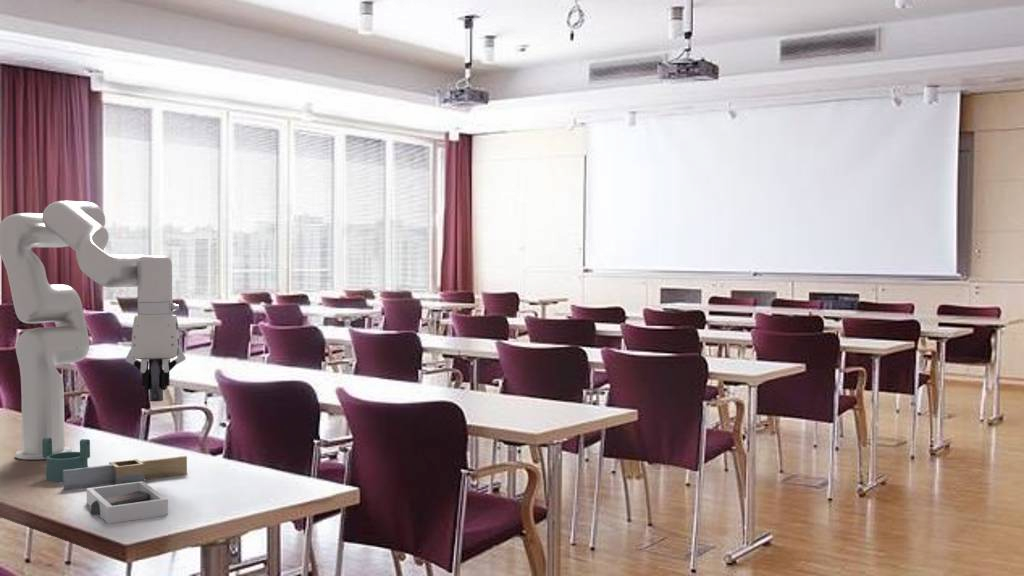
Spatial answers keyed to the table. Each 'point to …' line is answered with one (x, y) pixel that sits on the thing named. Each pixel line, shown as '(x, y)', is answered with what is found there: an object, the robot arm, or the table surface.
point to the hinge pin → (155, 380)
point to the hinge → (124, 472)
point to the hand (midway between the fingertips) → (156, 388)
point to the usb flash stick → (121, 500)
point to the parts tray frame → (127, 511)
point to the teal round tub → (64, 459)
